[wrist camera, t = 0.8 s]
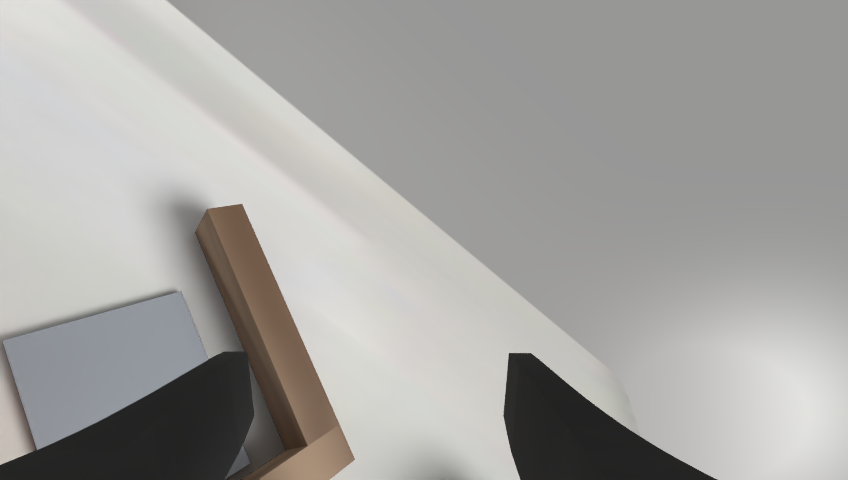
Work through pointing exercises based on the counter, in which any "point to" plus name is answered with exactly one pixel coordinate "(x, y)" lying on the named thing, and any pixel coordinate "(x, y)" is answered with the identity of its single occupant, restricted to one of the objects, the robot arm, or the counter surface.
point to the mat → (103, 365)
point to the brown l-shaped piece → (273, 351)
